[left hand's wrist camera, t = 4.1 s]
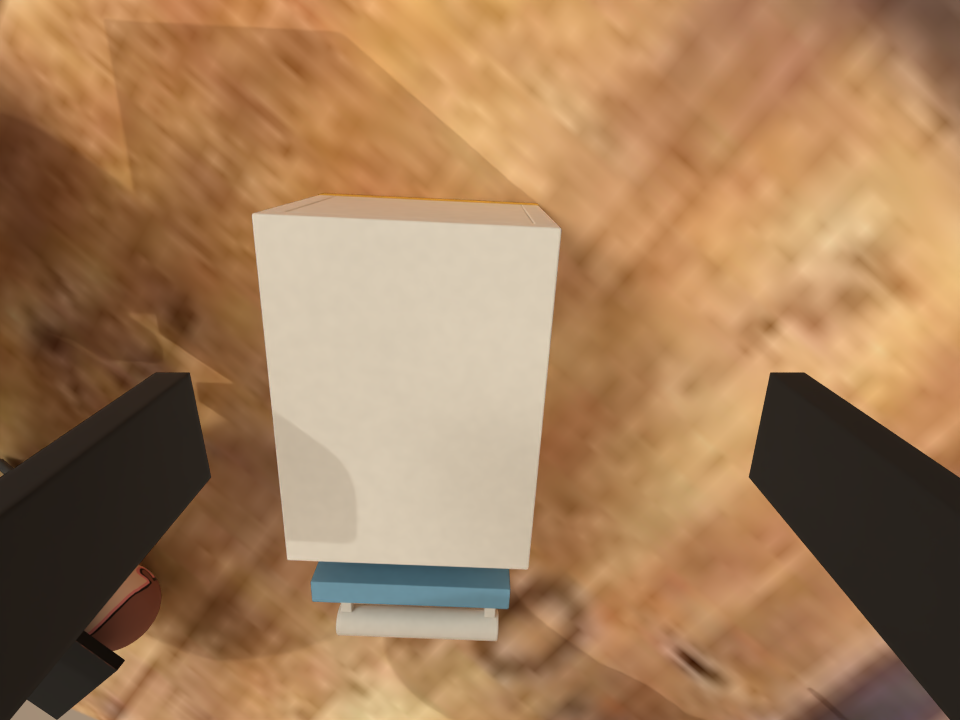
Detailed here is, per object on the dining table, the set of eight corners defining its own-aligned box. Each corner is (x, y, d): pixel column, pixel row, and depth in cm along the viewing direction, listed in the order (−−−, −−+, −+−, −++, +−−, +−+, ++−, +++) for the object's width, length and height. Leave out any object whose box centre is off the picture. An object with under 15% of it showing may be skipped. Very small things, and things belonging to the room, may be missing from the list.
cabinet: (516, 461, 32) (528, 570, 23) (337, 453, 32) (286, 561, 23) (537, 203, 26) (562, 227, 18) (322, 193, 26) (250, 212, 18)
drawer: (497, 592, 34) (501, 696, 28) (350, 586, 34) (319, 689, 27) (519, 295, 27) (531, 340, 21) (335, 286, 27) (288, 329, 21)
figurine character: (-48, 475, 34) (140, 630, 36) (-207, 550, 26) (42, 739, 29) (7, 408, 32) (201, 575, 34) (-146, 468, 25) (113, 676, 27)
